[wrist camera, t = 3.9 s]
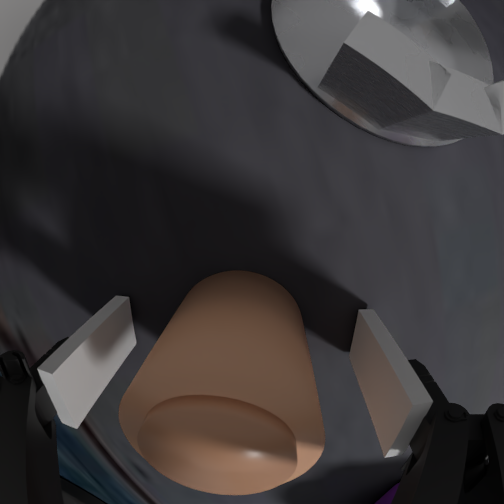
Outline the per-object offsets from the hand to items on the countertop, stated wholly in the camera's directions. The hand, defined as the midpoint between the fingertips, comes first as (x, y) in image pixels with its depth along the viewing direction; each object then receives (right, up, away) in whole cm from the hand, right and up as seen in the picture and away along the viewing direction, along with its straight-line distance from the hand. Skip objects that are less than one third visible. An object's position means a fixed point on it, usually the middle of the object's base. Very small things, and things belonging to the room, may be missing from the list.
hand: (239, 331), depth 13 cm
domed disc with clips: (+7, +14, -4) cm, 16 cm away
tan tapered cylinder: (0, 0, 0) cm, 0 cm away
